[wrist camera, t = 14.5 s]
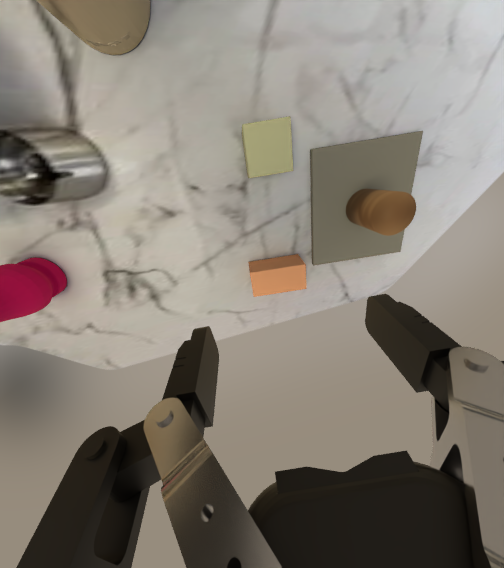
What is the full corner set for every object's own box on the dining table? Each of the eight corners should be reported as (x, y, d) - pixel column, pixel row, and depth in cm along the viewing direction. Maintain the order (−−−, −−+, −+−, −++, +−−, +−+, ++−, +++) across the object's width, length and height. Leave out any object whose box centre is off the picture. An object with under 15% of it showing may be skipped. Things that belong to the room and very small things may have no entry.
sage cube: (241, 133, 26) (242, 124, 22) (281, 126, 26) (290, 116, 22) (247, 177, 29) (249, 178, 24) (284, 171, 29) (293, 170, 24)
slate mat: (310, 149, 27) (312, 149, 27) (418, 131, 27) (422, 130, 27) (311, 263, 35) (313, 265, 34) (396, 250, 35) (400, 251, 34)
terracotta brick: (252, 283, 36) (253, 296, 32) (248, 261, 34) (249, 272, 30) (298, 276, 36) (306, 288, 32) (297, 253, 34) (305, 264, 30)
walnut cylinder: (346, 191, 29) (375, 195, 23) (381, 185, 29) (419, 188, 23) (345, 226, 31) (371, 238, 25) (377, 221, 31) (411, 232, 25)
